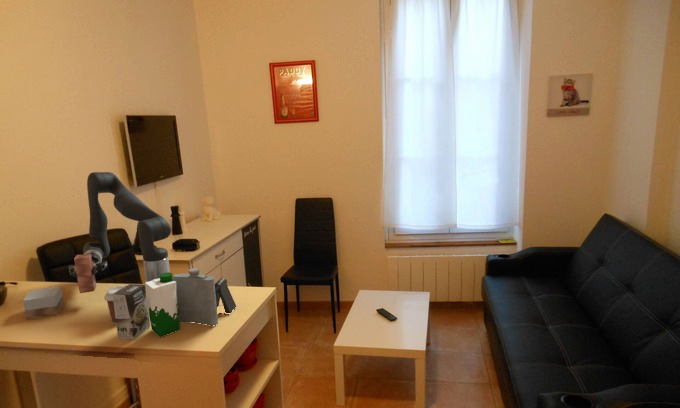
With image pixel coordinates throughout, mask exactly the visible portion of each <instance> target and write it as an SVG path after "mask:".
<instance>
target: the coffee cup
mask: <svg viewBox="0 0 680 408" xmlns="http://www.w3.org/2000/svg"><path fill="white" fill-rule="evenodd" d="M125 286H126V285H118V286H114V287H110V288H109V289H107V291H106V294H104V296H103V297H104V301H106V302H107V307H108V311H109V314H110V315H109V316H110V319H111V323H112V324H113V325H116V318H115V310H114V302H113V293H115V292H117V291H118V290H120V289H122V288H124V287H125Z"/></svg>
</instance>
